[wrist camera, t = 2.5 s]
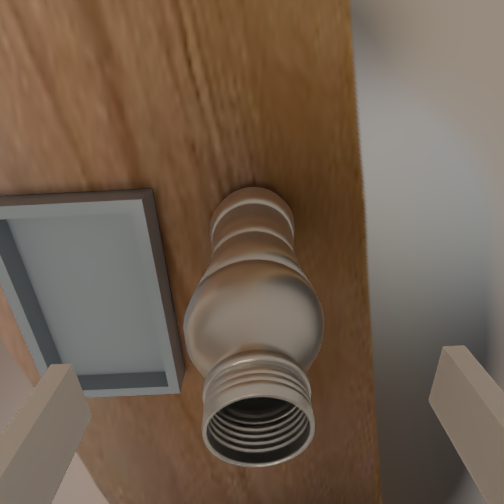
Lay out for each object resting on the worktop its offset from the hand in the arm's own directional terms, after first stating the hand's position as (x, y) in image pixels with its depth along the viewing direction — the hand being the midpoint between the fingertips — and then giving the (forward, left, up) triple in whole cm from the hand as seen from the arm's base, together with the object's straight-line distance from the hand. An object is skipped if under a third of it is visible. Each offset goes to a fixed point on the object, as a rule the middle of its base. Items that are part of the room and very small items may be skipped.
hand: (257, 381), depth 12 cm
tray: (-7, +15, -18) cm, 24 cm away
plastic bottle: (0, 0, -18) cm, 18 cm away
